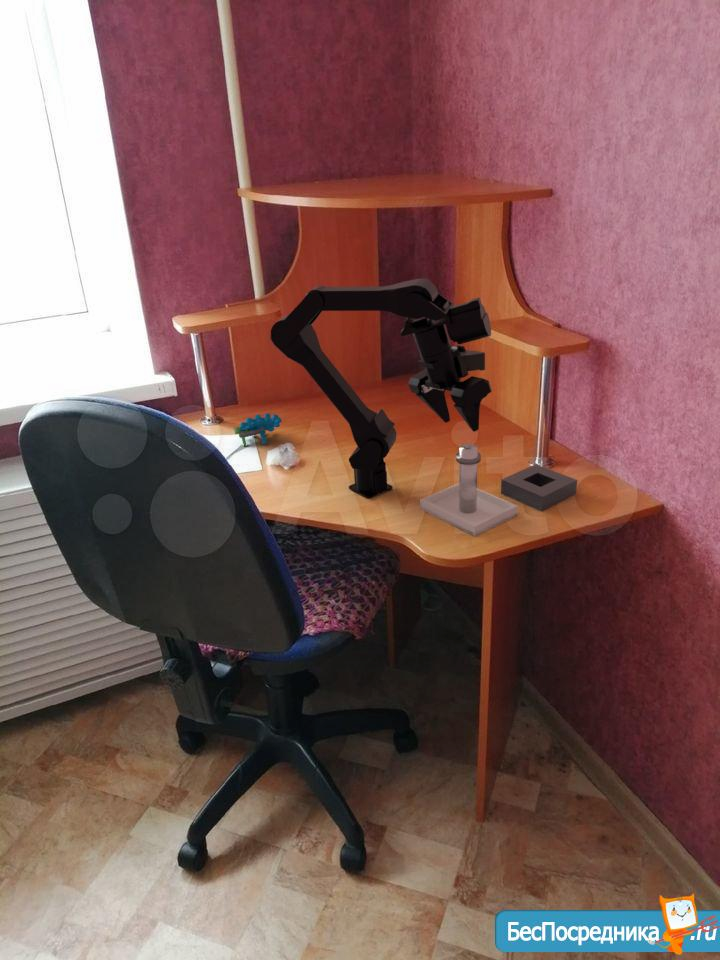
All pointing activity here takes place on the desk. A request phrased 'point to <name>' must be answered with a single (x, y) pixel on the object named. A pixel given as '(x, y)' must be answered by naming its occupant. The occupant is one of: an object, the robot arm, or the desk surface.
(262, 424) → the blue spiky toy
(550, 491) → the hitch block
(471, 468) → the steel pin
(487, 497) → the tray
